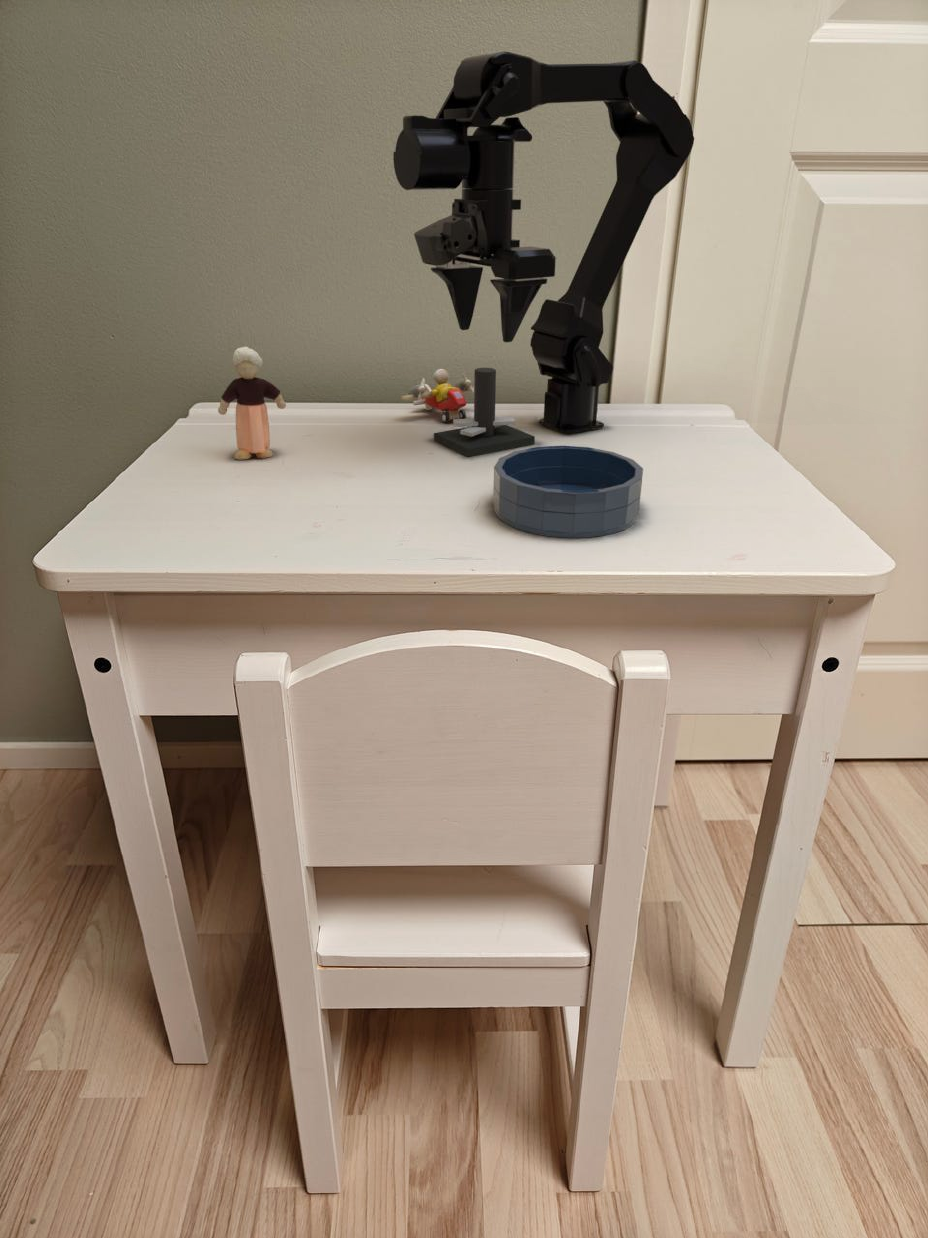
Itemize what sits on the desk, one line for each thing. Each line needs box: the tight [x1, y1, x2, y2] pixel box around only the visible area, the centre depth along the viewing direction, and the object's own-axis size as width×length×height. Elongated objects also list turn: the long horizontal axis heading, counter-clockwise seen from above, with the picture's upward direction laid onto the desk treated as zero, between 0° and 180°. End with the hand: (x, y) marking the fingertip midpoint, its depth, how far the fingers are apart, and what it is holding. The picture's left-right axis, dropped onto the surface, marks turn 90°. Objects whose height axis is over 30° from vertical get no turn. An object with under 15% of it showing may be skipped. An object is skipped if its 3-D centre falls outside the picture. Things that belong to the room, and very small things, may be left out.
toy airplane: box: [400, 368, 474, 423], centre depth 118 cm, size 9×9×6 cm
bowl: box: [492, 445, 644, 539], centre depth 87 cm, size 15×15×4 cm
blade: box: [452, 367, 517, 437], centre depth 106 cm, size 8×5×8 cm, turn 123°
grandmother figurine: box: [217, 346, 287, 461], centre depth 101 cm, size 8×4×13 cm, turn 117°
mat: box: [433, 425, 536, 458], centre depth 108 cm, size 10×8×1 cm
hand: (485, 335), depth 102 cm, fingers open, 9 cm apart
